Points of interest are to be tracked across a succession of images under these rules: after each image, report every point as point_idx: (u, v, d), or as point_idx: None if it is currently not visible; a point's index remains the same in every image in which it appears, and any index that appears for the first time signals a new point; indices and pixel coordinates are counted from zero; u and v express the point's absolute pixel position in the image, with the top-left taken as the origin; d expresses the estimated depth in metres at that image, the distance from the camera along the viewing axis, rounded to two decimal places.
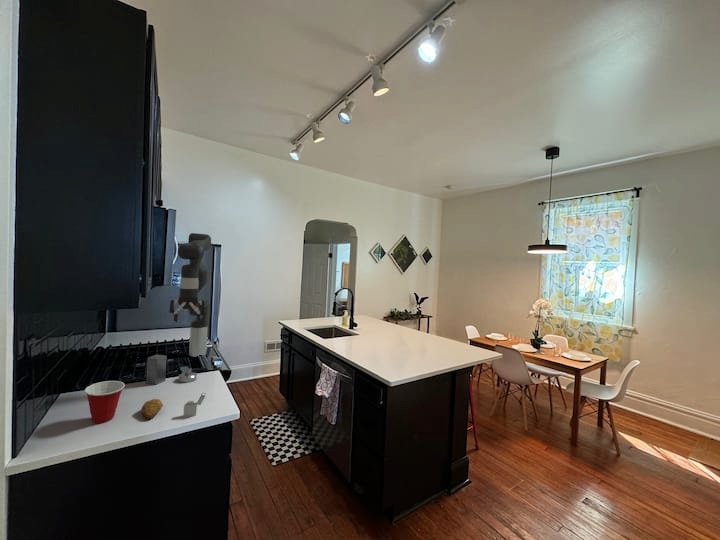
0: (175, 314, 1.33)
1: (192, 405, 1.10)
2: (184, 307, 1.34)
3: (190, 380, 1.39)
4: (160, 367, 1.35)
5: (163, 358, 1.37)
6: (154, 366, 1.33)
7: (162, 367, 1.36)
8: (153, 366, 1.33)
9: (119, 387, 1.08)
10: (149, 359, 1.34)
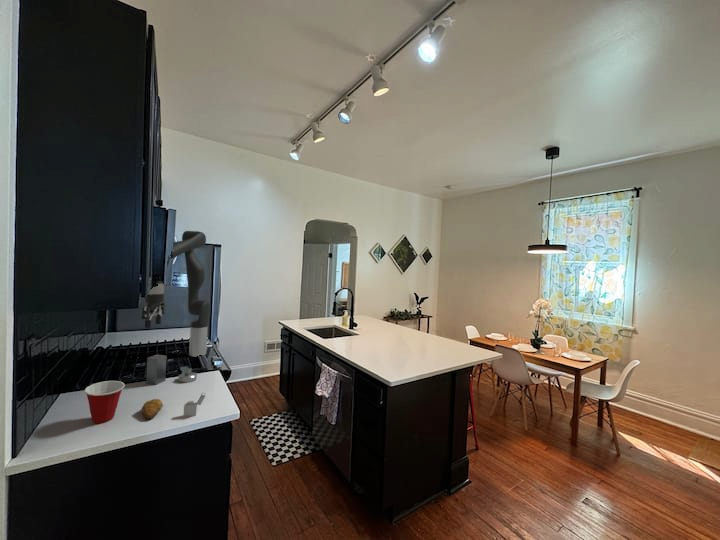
0: (149, 320, 1.35)
1: (192, 405, 1.10)
2: None
3: (190, 380, 1.39)
4: (160, 367, 1.35)
5: (163, 358, 1.37)
6: (154, 366, 1.33)
7: (162, 367, 1.36)
8: (153, 366, 1.33)
9: (119, 387, 1.08)
10: (149, 359, 1.34)
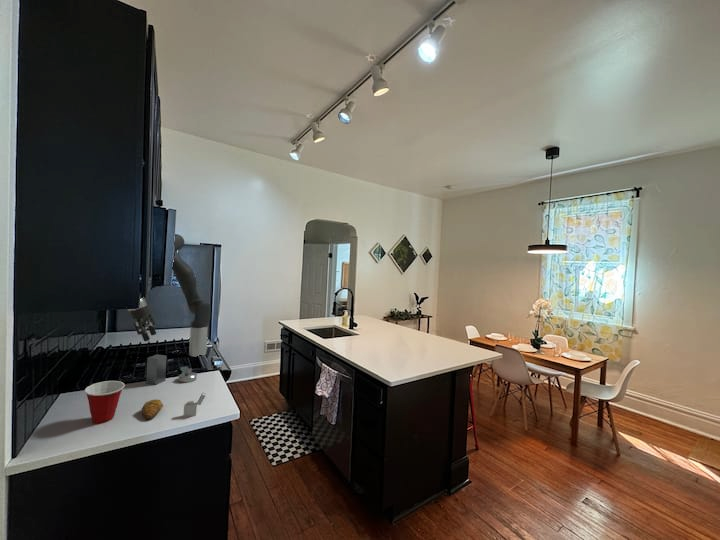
0: (145, 333, 1.38)
1: (192, 405, 1.10)
2: None
3: (190, 380, 1.39)
4: (160, 367, 1.35)
5: (163, 358, 1.37)
6: (154, 366, 1.33)
7: (162, 367, 1.36)
8: (153, 366, 1.33)
9: (119, 387, 1.08)
10: (149, 359, 1.34)
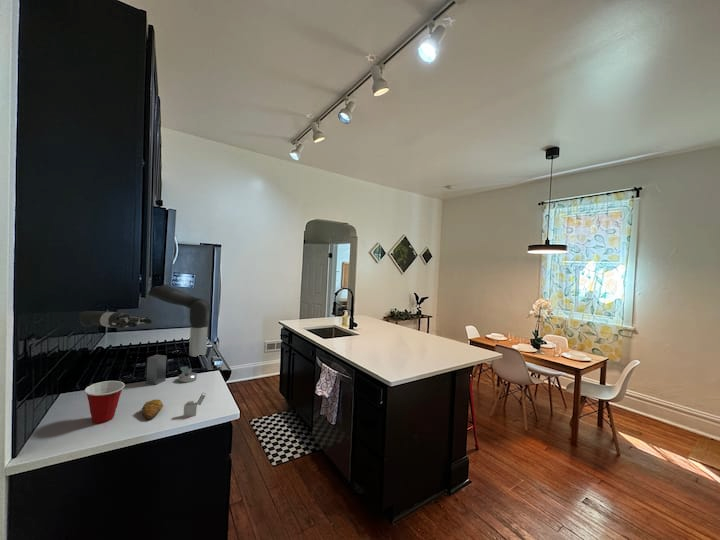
0: (128, 322, 1.37)
1: (192, 405, 1.10)
2: (129, 319, 1.41)
3: (190, 380, 1.39)
4: (160, 367, 1.35)
5: (163, 358, 1.37)
6: (154, 366, 1.33)
7: (162, 367, 1.36)
8: (153, 366, 1.33)
9: (119, 387, 1.08)
10: (149, 359, 1.34)
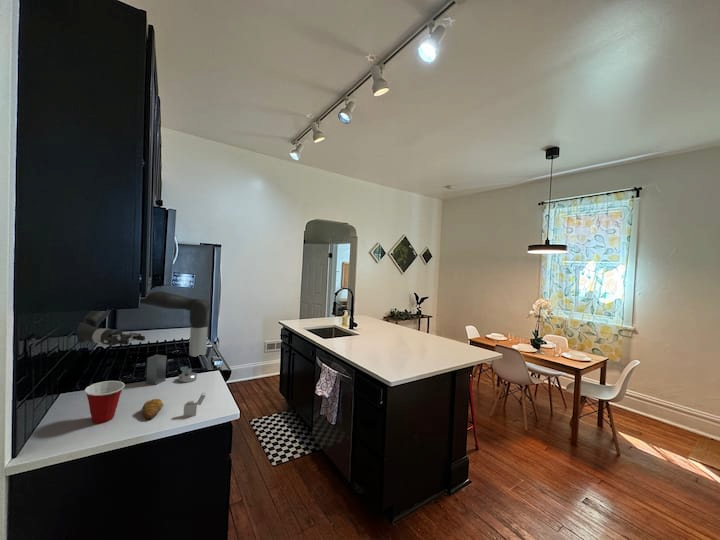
0: (120, 340, 1.35)
1: (192, 405, 1.10)
2: (121, 337, 1.39)
3: (190, 380, 1.39)
4: (160, 367, 1.35)
5: (163, 358, 1.37)
6: (154, 366, 1.33)
7: (162, 367, 1.36)
8: (153, 366, 1.33)
9: (119, 387, 1.08)
10: (149, 359, 1.34)
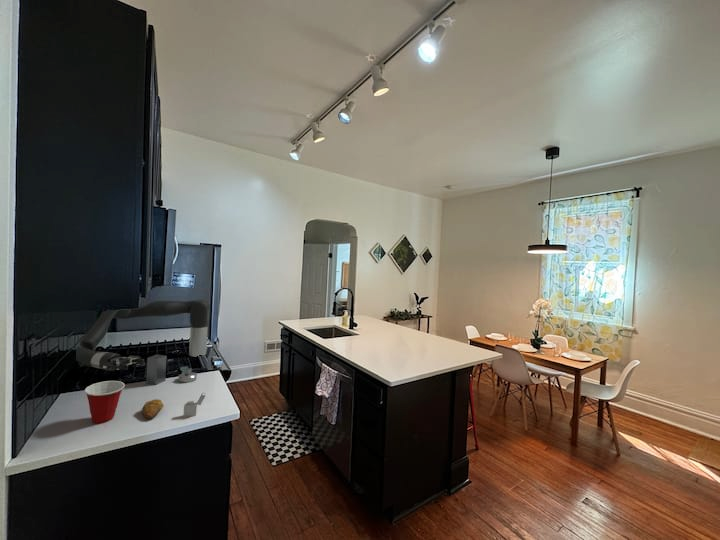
0: (119, 365, 1.34)
1: (192, 405, 1.10)
2: (120, 361, 1.37)
3: (190, 380, 1.39)
4: (160, 367, 1.35)
5: (163, 358, 1.37)
6: (154, 366, 1.33)
7: (162, 367, 1.36)
8: (153, 366, 1.33)
9: (119, 387, 1.08)
10: (149, 359, 1.34)
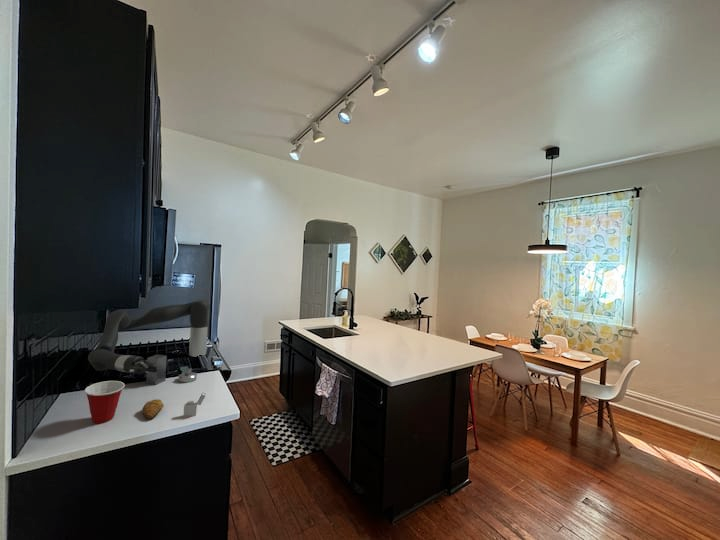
0: (148, 368, 1.33)
1: (192, 405, 1.10)
2: (145, 364, 1.36)
3: (190, 380, 1.39)
4: (160, 367, 1.35)
5: (163, 358, 1.37)
6: (154, 366, 1.33)
7: (162, 367, 1.36)
8: (153, 366, 1.33)
9: (119, 387, 1.08)
10: (149, 359, 1.34)
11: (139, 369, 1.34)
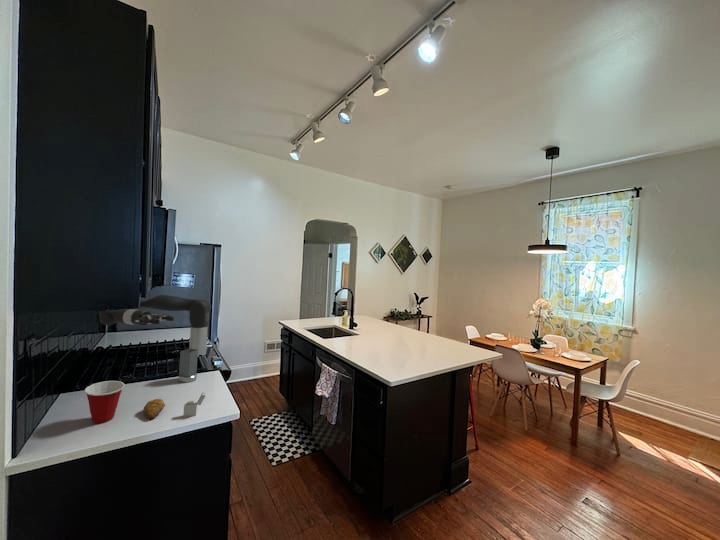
0: (151, 319, 1.37)
1: (192, 405, 1.10)
2: (151, 317, 1.41)
3: (190, 380, 1.39)
4: (192, 360, 1.40)
5: (195, 352, 1.41)
6: (187, 359, 1.38)
7: (194, 360, 1.41)
8: (186, 359, 1.38)
9: (119, 387, 1.08)
10: (182, 353, 1.39)
11: None
